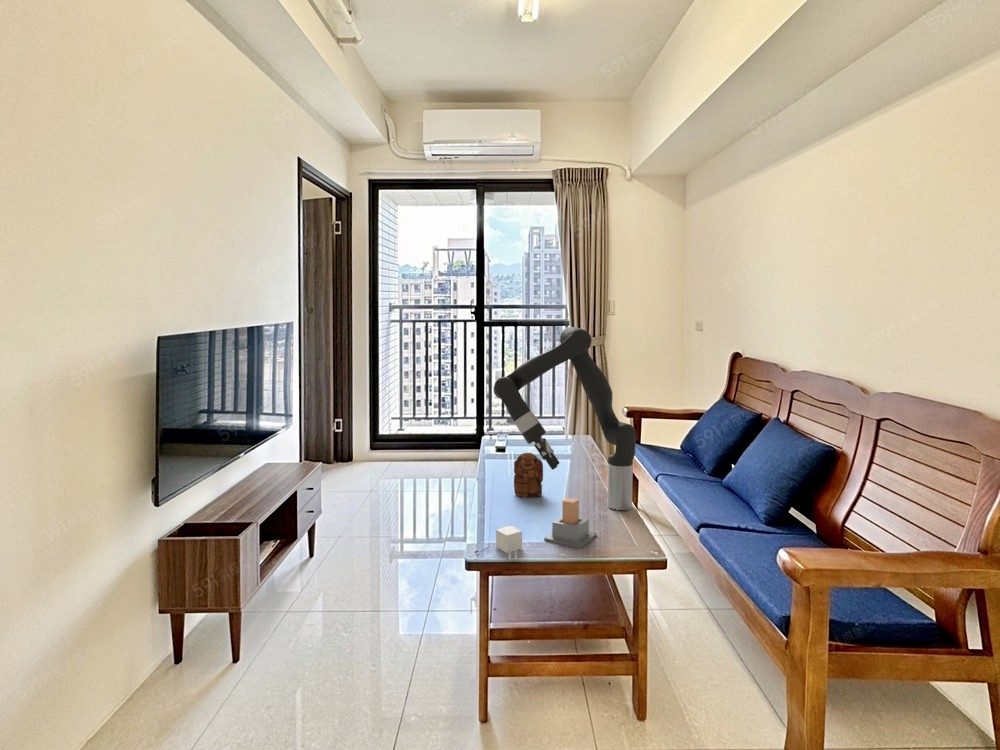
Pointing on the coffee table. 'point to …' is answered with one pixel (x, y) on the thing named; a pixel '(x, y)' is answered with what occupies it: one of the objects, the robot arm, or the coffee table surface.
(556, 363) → the robot arm
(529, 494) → the wooden figurine
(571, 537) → the well
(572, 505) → the orange rectangular block
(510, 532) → the white cube
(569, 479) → the coffee table surface
